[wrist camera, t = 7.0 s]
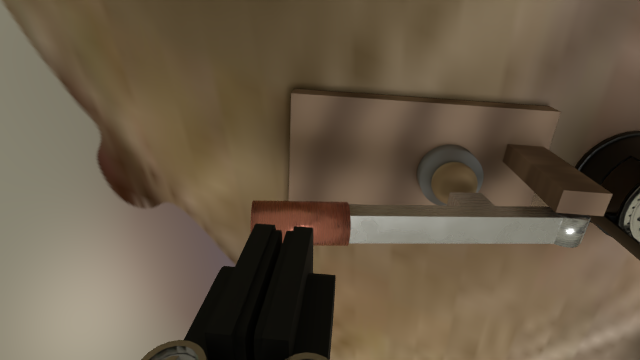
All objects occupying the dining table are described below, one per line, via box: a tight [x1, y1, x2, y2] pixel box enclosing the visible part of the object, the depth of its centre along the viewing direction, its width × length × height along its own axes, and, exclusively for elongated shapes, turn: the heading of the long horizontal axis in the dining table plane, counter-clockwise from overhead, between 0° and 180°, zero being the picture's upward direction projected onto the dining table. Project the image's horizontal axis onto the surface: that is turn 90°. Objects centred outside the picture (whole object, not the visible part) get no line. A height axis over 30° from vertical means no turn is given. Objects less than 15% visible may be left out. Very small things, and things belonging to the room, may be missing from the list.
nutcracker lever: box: [251, 192, 591, 247], centre depth 25 cm, size 22×3×4 cm, turn 87°
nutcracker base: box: [289, 89, 613, 216], centre depth 30 cm, size 22×12×11 cm, turn 87°
